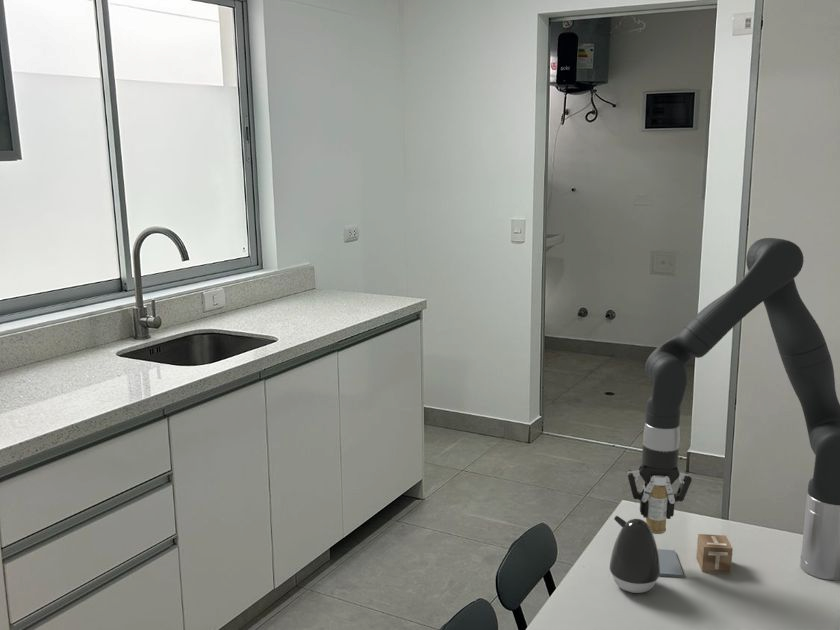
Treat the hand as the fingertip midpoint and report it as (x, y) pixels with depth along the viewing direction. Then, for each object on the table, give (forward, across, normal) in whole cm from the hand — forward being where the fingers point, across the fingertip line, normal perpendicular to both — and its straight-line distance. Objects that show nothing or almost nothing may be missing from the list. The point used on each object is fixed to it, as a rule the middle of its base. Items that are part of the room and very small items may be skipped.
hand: (656, 516), depth 180 cm
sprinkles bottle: (+3, 0, 0) cm, 3 cm away
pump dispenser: (+11, +6, +10) cm, 16 cm away
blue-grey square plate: (+11, 0, 0) cm, 11 cm away
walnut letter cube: (+11, -13, 0) cm, 17 cm away
